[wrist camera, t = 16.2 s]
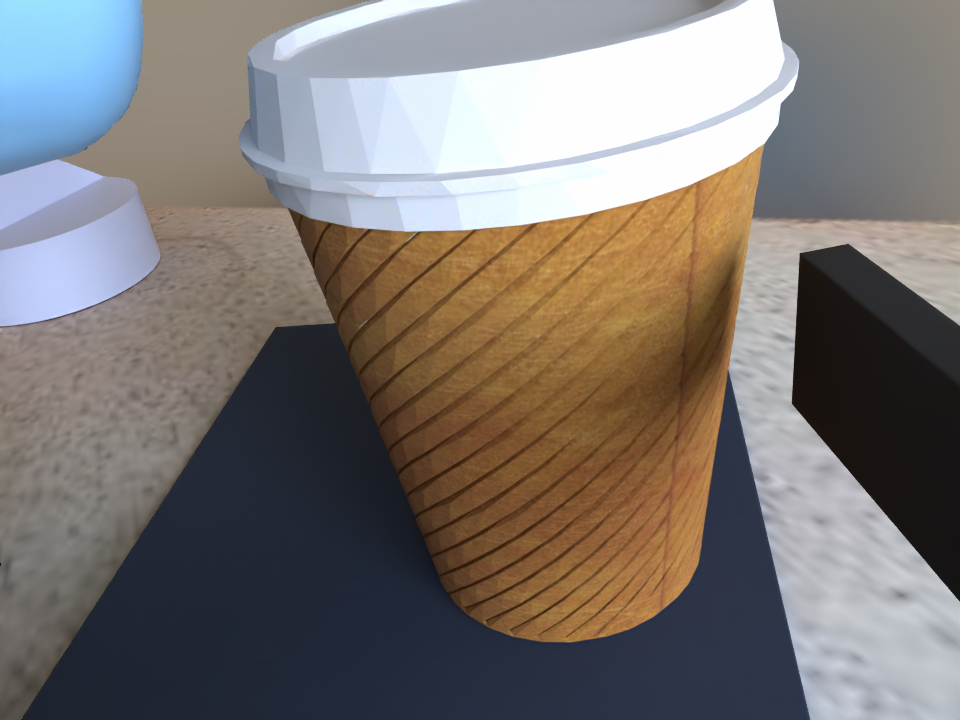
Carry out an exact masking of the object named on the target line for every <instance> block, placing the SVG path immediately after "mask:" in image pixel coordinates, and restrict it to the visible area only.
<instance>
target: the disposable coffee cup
mask: <svg viewBox="0 0 960 720" xmlns="http://www.w3.org/2000/svg"><path fill="white" fill-rule="evenodd" d="M798 66H799V60H798V58H797V56H796V54H795V52H794V50H793V49H791V48H790V47H789V46H787V45H786V44H785V43H784V42H782V41H781V38H780V33H779V28H778V23H777V18H776V14H775V9H774V4H773V0H371V1H367V2H363V3H360V4H357V5H353V6H350V7H346V8H343V9H340V10H336V11H333V12H330V13H326V14H323V15H319V16H317V17H314V18H311V19H309V20H306V21H303V22H301V23H298V24H295V25H293V26H290V27H288V28H285V29H282V30H280V31H277V32H276V33H274V34H272V35H271V36H269V37H267V38H265V39H264V40H262V41H260V42H258V43H257V44H256V45H255V46H254V47H253V48H252V49H251V50H250V51H249V53H248V76H249V98H250V117H251V118H250V119H249V120H248V121H247V122H246V123H245V125H244V127H243V129H242V131H241V133H240V135H239V141H240V146H241V151H242V155H243V157H244V158H245V159H246V160H247V162H248V163H249V164H250V165H251V166H252V167H253V168H254V170H255V171H256V172H257V173H259V174H261V175H263V176H265V179H266V182H267V184H268V187H269V190H270V193H271V194H272V195H273V196H274V197H275V198H276V199H277V200H278V201H279V202H280V203H281V204H282V205H283V206H286V207H287V208H288V210H289V212H290V214H291V216H292V219H293V221H294V223H295V226H296V228H297V231H298V233H299V235H300V238H301V242H302V244H303V247H304V249H305V251H306V253H307V256H308V258H309V260H310V262H311V265H312V267H313V269H314V274H315V276H316V278H317V281H318V283H319V285H320V287H321V290H322V292H323V294H324V296H325V299H326V303H327V305H328V308H329V310H330V312H331V314H332V317H333V319H334V321H335V323H336V326H337V327H338V332H339V335H340V337H341V339H342V341H343V344H344V346H345V348H346V351H347V353H348V354H349V355H350V357H349V359H350V361H351V363H352V366H353V368H354V370H355V372H356V375H357V377H358V379H359V381H360V386H361V388H362V390H363V392H364V395H365V397H366V399H367V401H368V403H369V405H370V406H371V411H372V415H373V417H374V419H375V422H376V424H377V426H378V428H379V429H380V434H381V437H382V439H383V441H384V443H385V445H386V448H387V450H388V452H389V453H390V454H389V456H390V459H391V461H392V463H393V465H394V467H395V470H396V472H397V474H398V475H399V477H398V478H399V480H400V483H401V485H402V487H403V489H404V491H405V494H406V496H408V498H407V500H408V502H409V504H410V506H411V509H412V511H413V513H414V515H415V517H417V518H416V522H417V524H418V526H419V528H420V531H421V533H422V535H423V537H425V539H424V541H425V543H426V546H427V548H428V550H429V553H430V555H431V556H433V558H432V560H433V562H434V565H435V567H436V570H437V572H438V575H439V578H440V582H441V584H442V585H443V587H444V588H445V590H446V591H447V592H448V594H449V595H450V597H451V598H452V600H453V601H454V603H455V604H456V605H458V606H459V607H460V608H461V609H462V610H463V611H464V612H465V613H466V614H467V615H468V616H470V617H472V618H473V619H475V620H477V621H478V622H480V623H482V624H483V625H485V626H487V627H488V628H491V629H494V630H496V631H499V632H502V633H505V634H507V635H510V636H513V637H517V638H523V639H529V640H534V641H540V642H577V641H583V640H589V639H595V638H601V637H607V636H610V635H613V634H616V633H619V632H623V631H626V630H629V629H631V628H633V627H635V626H637V625H639V624H641V623H643V622H645V621H647V620H649V619H650V618H652V617H654V616H655V615H657V614H658V613H659V612H660V611H661V610H663V609H664V608H665V607H666V606H668V605H669V604H670V603H671V602H672V601H674V600H675V599H676V598H677V597H678V596H679V595H680V593H681V592H682V591H683V590H684V589H685V587H686V586H687V585H688V584H689V582H690V580H691V578H692V576H693V574H694V572H695V570H696V568H697V566H698V562H699V557H700V551H701V546H702V536H703V528H704V521H705V515H706V508H707V502H708V495H709V489H710V482H711V476H712V469H713V463H714V456H715V450H716V443H717V437H718V431H719V426H720V421H721V414H722V408H723V401H724V394H725V388H726V381H727V374H728V367H729V361H730V355H731V347H732V343H733V336H734V329H735V322H736V316H737V311H738V304H739V297H740V291H741V285H742V279H743V272H744V265H745V259H746V253H747V246H748V240H749V233H750V226H751V220H752V213H753V207H754V199H755V194H756V189H757V185H758V181H759V174H760V166H761V158H762V152H763V148H764V143H765V142H766V140H767V139H768V137H769V136H770V135H771V133H772V132H773V130H774V129H775V127H776V126H777V125H778V119H779V111H780V104H781V102H782V101H783V100H784V99H785V98H786V97H787V96H788V95H789V94H790V93H791V92H792V91H793V89H794V85H795V82H796V79H797V75H798Z"/></svg>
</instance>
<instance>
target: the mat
mask: <svg viewBox="0 0 960 720" xmlns="http://www.w3.org/2000/svg"><path fill="white" fill-rule="evenodd" d="M349 357H350V355H349V354H348V353H347V351H346V348H345V346H344V344H343V341H342V339H341V337H340V335H339V332H338V327H337V326H336V323H332V324H318V325H303V326H288V327H276V328H275V329H274V331H273V332H272V334H271V335H270V337H269V338H268V340H267V341H266V343H265V345H264V346H263V348H262V349H261V351H260V352H259V354H258V355H257V357H256V358H255V360H254V362H253V363H252V365H251V366H250V368H249V369H248V371H247V372H246V374H245V375H244V377H243V379H242V380H241V382H240V383H239V385H238V386H237V388H236V389H235V391H234V392H233V394H232V395H231V397H230V399H229V400H228V402H227V403H226V405H225V406H224V408H223V409H222V411H221V412H220V414H219V416H218V417H217V419H216V420H215V422H214V423H213V425H212V426H211V428H210V429H209V431H208V432H207V434H206V436H205V437H204V439H203V440H202V442H201V443H200V445H199V446H198V448H197V449H196V451H195V453H194V454H193V456H192V457H191V459H190V460H189V462H188V463H187V465H186V466H185V468H184V470H183V471H182V473H181V474H180V476H179V477H178V479H177V480H176V482H175V483H174V485H173V486H172V488H171V490H170V491H169V493H168V494H167V496H166V497H165V499H164V500H163V502H162V503H161V505H160V507H159V508H158V510H157V511H156V513H155V514H154V516H153V517H152V519H151V520H150V522H149V524H148V525H147V527H146V528H145V530H144V531H143V533H142V534H141V536H140V537H139V539H138V540H137V542H136V544H135V545H134V547H133V548H132V550H131V551H130V553H129V554H128V556H127V557H126V559H125V561H124V562H123V564H122V565H121V567H120V568H119V570H118V571H117V573H116V574H115V576H114V578H113V579H112V581H111V582H110V584H109V585H108V587H107V588H106V590H105V591H104V593H103V594H102V596H101V598H100V599H99V601H98V602H97V604H96V605H95V607H94V608H93V610H92V611H91V613H90V615H89V616H88V618H87V619H86V621H85V622H84V624H83V625H82V627H81V628H80V630H79V631H78V633H77V635H76V636H75V638H74V639H73V641H72V642H71V644H70V645H69V647H68V648H67V650H66V652H65V653H64V655H63V656H62V658H61V659H60V661H59V662H58V664H57V665H56V667H55V669H54V670H53V672H52V673H51V675H50V676H49V678H48V679H47V681H46V682H45V684H44V685H43V687H42V689H41V690H40V692H39V693H38V695H37V696H36V698H35V699H34V701H33V702H32V704H31V706H30V707H29V709H28V710H27V712H26V713H25V715H24V716H23V718H22V719H21V720H810V717H809V713H808V708H807V704H806V700H805V695H804V691H803V687H802V683H801V678H800V674H799V670H798V665H797V661H796V657H795V653H794V648H793V644H792V640H791V635H790V631H789V627H788V623H787V618H786V614H785V610H784V606H783V601H782V597H781V593H780V588H779V584H778V580H777V576H776V571H775V567H774V563H773V558H772V554H771V550H770V546H769V541H768V537H767V533H766V528H765V524H764V520H763V516H762V511H761V507H760V503H759V498H758V494H757V490H756V486H755V481H754V477H753V473H752V468H751V464H750V460H749V456H748V451H747V447H746V443H745V439H744V434H743V430H742V426H741V421H740V417H739V413H738V409H737V404H736V400H735V396H734V391H733V387H732V383H731V379H730V374H729V370H728V374H727V381H726V388H725V394H724V401H723V408H722V414H721V421H720V426H719V431H718V437H717V443H716V450H715V456H714V463H713V469H712V476H711V482H710V489H709V495H708V502H707V508H706V515H705V521H704V528H703V536H702V546H701V551H700V557H699V562H698V566H697V568H696V570H695V572H694V574H693V576H692V578H691V580H690V582H689V584H688V585H687V586H686V587H685V589H684V590H683V591H682V592H681V593H680V595H679V596H678V597H677V598H676V599H675V600H674V601H672V602H671V603H670V604H669V605H668V606H666V607H665V608H664V609H663V610H661V611H660V612H659V613H658V614H657V615H655V616H654V617H652V618H650V619H649V620H647V621H645V622H643V623H641V624H639V625H637V626H635V627H633V628H631V629H629V630H626V631H623V632H619V633H616V634H613V635H610V636H607V637H601V638H595V639H589V640H583V641H577V642H540V641H534V640H529V639H523V638H517V637H513V636H510V635H507V634H505V633H502V632H499V631H496V630H494V629H491V628H488V627H487V626H485V625H483V624H482V623H480V622H478V621H477V620H475V619H473V618H472V617H470V616H468V615H467V614H466V613H465V612H464V611H463V610H462V609H461V608H460V607H459V606H458V605H456V604H455V603H454V601H453V600H452V598H451V597H450V595H449V594H448V592H447V591H446V590H445V588H444V587H443V585H442V584H441V582H440V578H439V575H438V572H437V570H436V567H435V565H434V562H433V560H432V558H433V556H431V555H430V553H429V550H428V548H427V546H426V543H425V541H424V539H425V537H423V535H422V533H421V531H420V528H419V526H418V524H417V522H416V518H417V517H415V515H414V513H413V511H412V509H411V506H410V504H409V502H408V500H407V498H408V496H406V494H405V491H404V489H403V487H402V485H401V483H400V480H399V478H398V477H399V475H398V474H397V472H396V470H395V467H394V465H393V463H392V461H391V459H390V456H389V454H390V453H389V452H388V450H387V448H386V445H385V443H384V441H383V439H382V437H381V434H380V429H379V428H378V426H377V424H376V422H375V419H374V417H373V415H372V411H371V406H370V405H369V403H368V401H367V399H366V397H365V395H364V392H363V390H362V388H361V386H360V381H359V379H358V377H357V375H356V372H355V370H354V368H353V366H352V363H351V361H350V359H349Z"/></svg>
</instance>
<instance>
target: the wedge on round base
mask: <svg viewBox="0 0 960 720" xmlns="http://www.w3.org/2000/svg"><path fill="white" fill-rule="evenodd" d="M159 260H160V250H159V248H158V245H157V242H156V239H155V237H154V234H153V231H152V228H151V225H150V223H149V220H148V217H147V214H146V212H145V209H144V206H143V203H142V201H141V198H140V195H139V192H138V189H137V187H136V184H135V183H134V182H132V181H130V180H128V179H124V178H119V177H104V176H101V175H99V174H96V173H93V172H91V171H88V170H85V169H82V168H80V167H77V166H74V165H72V164H69V163H66V162H64V161H61V160H58V159H57V160H53V161H50V162H46V163H43V164H39V165H36V166H32V167H29V168H25V169H22V170H19V171H15V172H12V173H8V174H5V175H1V176H0V326H12V325H21V324H28V323H33V322H39V321H43V320H48V319H52V318H56V317H59V316H63V315H67V314H70V313H73V312H76V311H79V310H82V309H85V308H87V307H90V306H93V305H95V304H98V303H100V302H102V301H105V300H107V299H109V298H111V297H113V296H115V295H117V294H119V293H121V292H123V291H125V290H126V289H128V288H130V287H132V286H133V285H135V284H136V283H138V282H139V281H141V280H142V279H143V278H145V277H146V276H147V275H148V274H149V273H150V272H151V271H152V270H153V269H154V268H155V267H156V265H157V264H158V262H159Z"/></svg>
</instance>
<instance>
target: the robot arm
mask: <svg viewBox="0 0 960 720" xmlns="http://www.w3.org/2000/svg"><path fill="white" fill-rule="evenodd" d="M142 46H143V19H142V0H0V176H1V175H5V174H8V173H12V172H15V171H19V170H22V169H25V168H29V167H32V166H36V165H39V164H43V163H46V162H50V161H53V160H57V159H60V158H63V157H67V156H71V155H74V154H77V153H79V152H81V151H83V150H86V149H87V147H88V146H89V145H91V144H93V143H95V142H96V141H98V140H99V139H100V138H101V137H102V136H104V135H105V134H106V133H107V132H108V130H109V129H110V128H111V126H112V125H113V124H114V123H116V122H117V121H118V120H120V119H121V118H122V116H123V115H124V113H125V112H126V110H127V109H128V108H129V106H130V103H131V100H132V98H133V96H134V94H135V91H136V90H137V86H138V81H139V77H140V71H141V62H142ZM792 404H793V406H794V407H795V408H796V409H797V410H798V411H799V413H800V414H801V415H802V416H803V417H804V419H805V420H806V421H807V422H808V423H809V424H810V426H811V427H812V428H813V429H814V430H815V432H816V433H817V434H818V435H819V436H820V437H821V439H822V440H823V441H824V442H825V443H826V444H827V446H828V447H829V448H830V449H831V450H832V452H833V453H834V454H835V455H836V456H837V457H838V459H839V460H840V461H841V462H842V463H843V465H844V466H845V467H846V468H847V469H848V470H849V472H850V473H851V474H852V475H853V476H854V477H855V479H856V480H857V481H858V482H859V483H860V485H861V486H862V487H863V488H864V489H865V490H866V492H867V493H868V494H869V495H870V496H871V498H872V499H873V500H874V501H875V502H876V503H877V505H878V506H879V507H880V508H881V509H882V510H883V512H884V513H885V514H886V515H887V516H888V518H889V519H890V520H891V521H892V522H893V523H894V525H895V526H896V527H897V528H898V529H899V531H900V532H901V533H902V534H903V535H904V536H905V538H906V539H907V540H908V541H909V542H910V543H911V545H912V546H913V547H914V548H915V549H916V551H917V552H918V553H919V554H920V555H921V556H922V558H923V559H924V560H925V561H926V562H927V564H928V565H929V566H930V567H931V568H932V569H933V571H934V572H935V573H936V574H937V575H938V576H939V578H940V579H941V580H942V581H943V582H944V584H945V585H946V586H947V587H948V588H949V589H950V591H951V592H952V593H953V594H954V595H955V597H956V598H957V599H958V600H959V601H960V326H959V325H958V324H957V323H955V322H954V321H952V320H951V319H950V318H948V317H947V316H946V315H944V314H943V313H942V312H940V311H939V310H937V309H936V308H935V307H933V306H932V305H931V304H929V303H928V302H927V301H925V300H924V299H923V298H921V297H920V296H918V295H917V294H916V293H914V292H913V291H912V290H910V289H909V288H908V287H906V286H905V285H903V284H902V283H901V282H899V281H898V280H897V279H895V278H894V277H893V276H891V275H890V274H889V273H887V272H886V271H884V270H883V269H882V268H880V267H879V266H878V265H876V264H875V263H874V262H872V261H871V260H869V259H868V258H867V257H865V256H864V255H863V254H861V253H860V252H859V251H857V250H856V249H855V248H853V247H852V246H850V245H849V244H846V245H841V246H835V247H830V248H825V249H820V250H815V251H810V252H804V253H800V260H799V279H798V298H797V316H796V335H795V354H794V372H793V391H792ZM0 566H1V563H0Z"/></svg>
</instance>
